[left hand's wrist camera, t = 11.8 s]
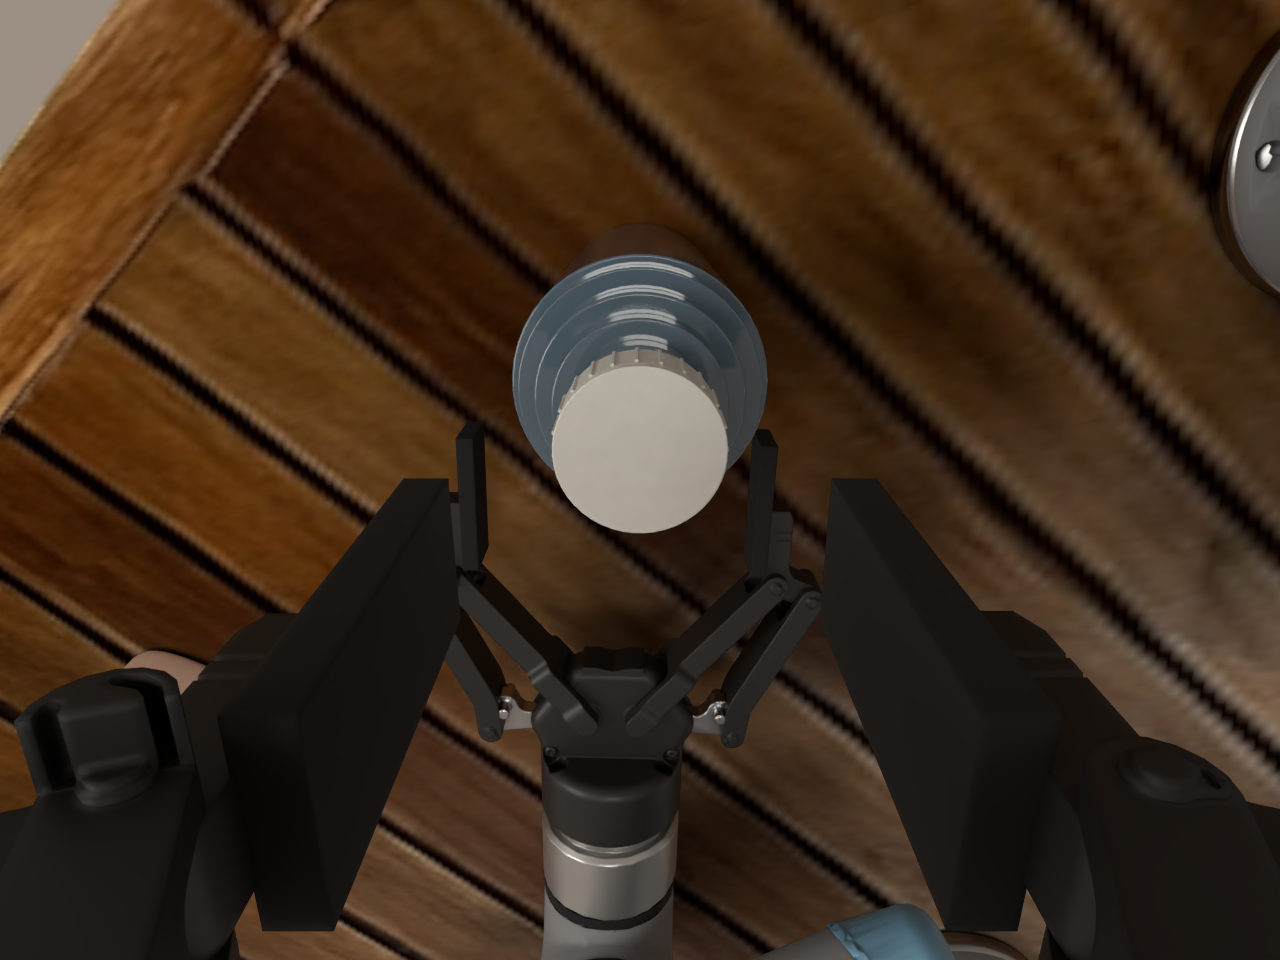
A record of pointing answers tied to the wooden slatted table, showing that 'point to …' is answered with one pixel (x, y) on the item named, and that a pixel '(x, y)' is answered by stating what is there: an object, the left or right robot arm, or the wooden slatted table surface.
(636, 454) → the cap
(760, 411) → the bottle
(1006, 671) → the left robot arm
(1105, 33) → the wooden slatted table surface
